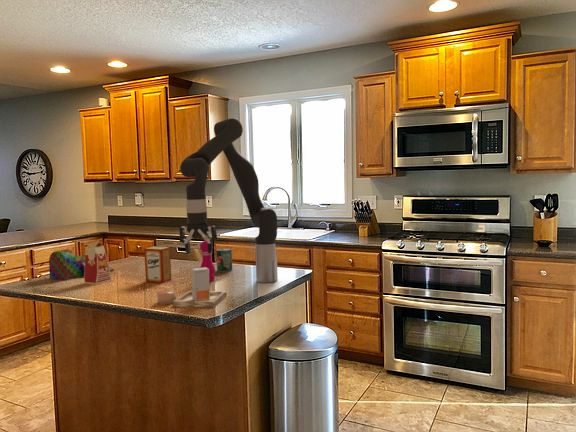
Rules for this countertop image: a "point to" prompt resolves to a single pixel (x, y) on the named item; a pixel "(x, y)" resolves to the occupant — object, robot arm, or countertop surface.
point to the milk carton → (96, 264)
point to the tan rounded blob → (166, 296)
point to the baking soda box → (157, 264)
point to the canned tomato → (224, 259)
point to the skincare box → (200, 284)
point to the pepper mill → (207, 260)
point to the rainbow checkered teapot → (67, 265)
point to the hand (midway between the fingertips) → (199, 253)
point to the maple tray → (187, 300)
